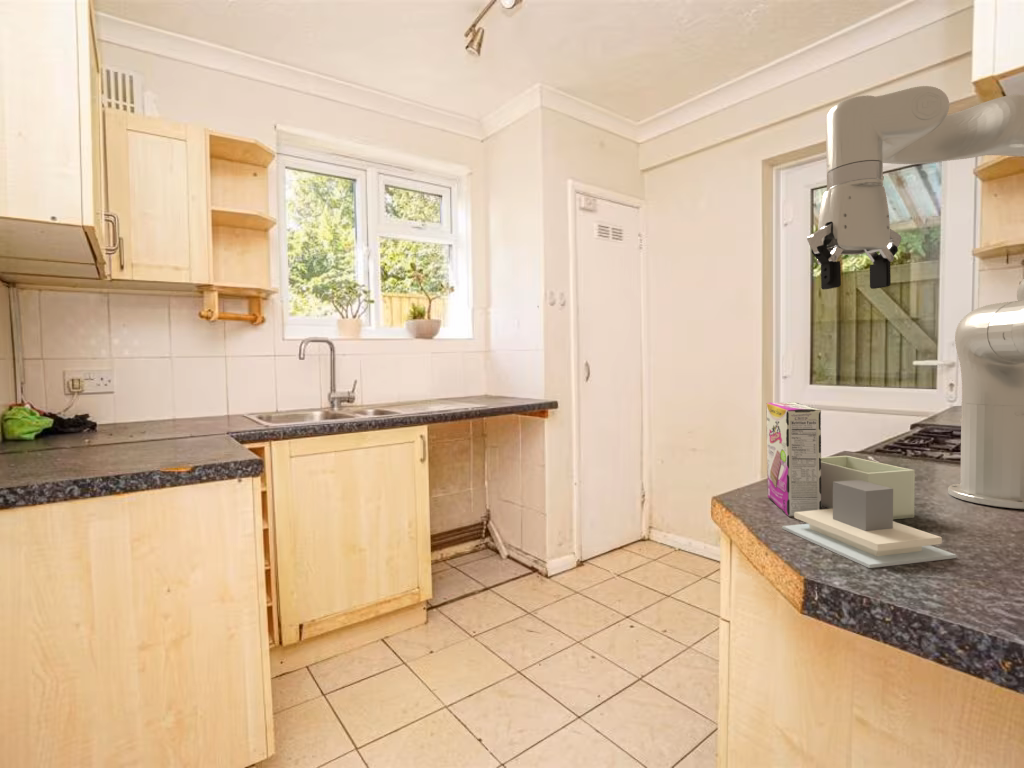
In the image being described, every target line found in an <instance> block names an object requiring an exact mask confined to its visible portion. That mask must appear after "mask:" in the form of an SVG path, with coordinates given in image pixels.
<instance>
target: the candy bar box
mask: <svg viewBox="0 0 1024 768" xmlns="http://www.w3.org/2000/svg"><path fill="white" fill-rule="evenodd" d="M821 414H822V410H821V409H819V408H816V407H812V406H808V405H805V404H803V403H799V402H794V401H793V402H790V401H789V402H788V401H787V402H784V401H783V402H782V401H781V402H775V401H774V402H773V401H772V402H767V403H766V448H767V449H766V452H767V453H766V456H767V458H766V461H767V463H766V464H767V468H766V471H767V472H766V473H767V498H768V499H769V500H771V501H772V503H773V504H775V505H776V506H777V507H778V508H779V509H780V511H782V512H783V513H784V514H785V515H786V516H787V517H789V518H794V512H801V511H811V510H822V506H821V457H822V427H821V425H822V423H821V422H822V421H821V419H822V418H821Z"/></svg>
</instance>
